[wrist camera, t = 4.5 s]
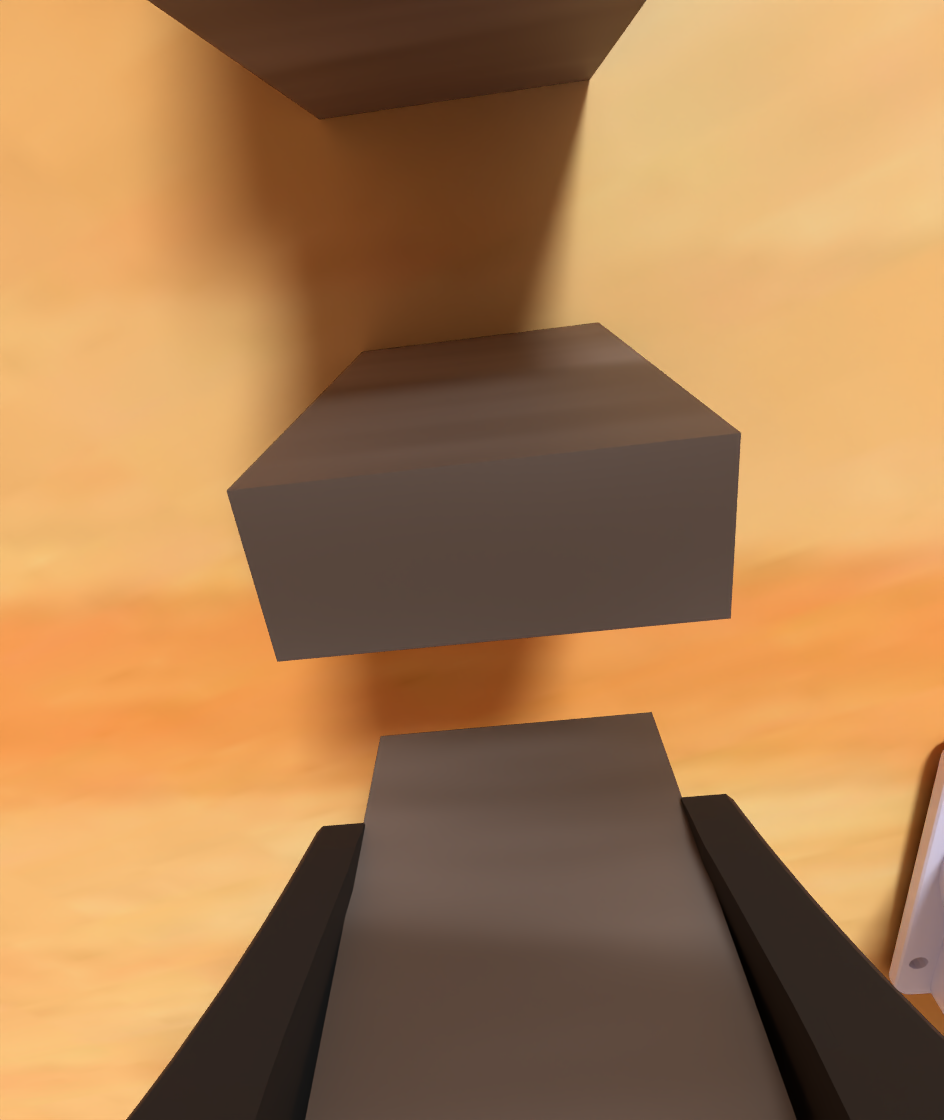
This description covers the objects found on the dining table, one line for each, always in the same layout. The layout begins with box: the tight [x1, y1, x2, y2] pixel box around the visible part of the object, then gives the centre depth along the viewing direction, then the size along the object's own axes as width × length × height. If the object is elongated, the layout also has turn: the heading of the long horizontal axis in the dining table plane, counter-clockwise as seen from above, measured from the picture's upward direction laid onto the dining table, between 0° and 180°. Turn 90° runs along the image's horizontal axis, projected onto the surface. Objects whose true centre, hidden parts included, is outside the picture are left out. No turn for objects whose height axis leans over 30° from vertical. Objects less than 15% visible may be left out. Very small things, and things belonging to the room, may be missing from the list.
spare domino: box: [305, 712, 797, 1120], centre depth 8 cm, size 2×4×8 cm, turn 97°
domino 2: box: [227, 323, 741, 662], centre depth 9 cm, size 2×4×8 cm, turn 97°
